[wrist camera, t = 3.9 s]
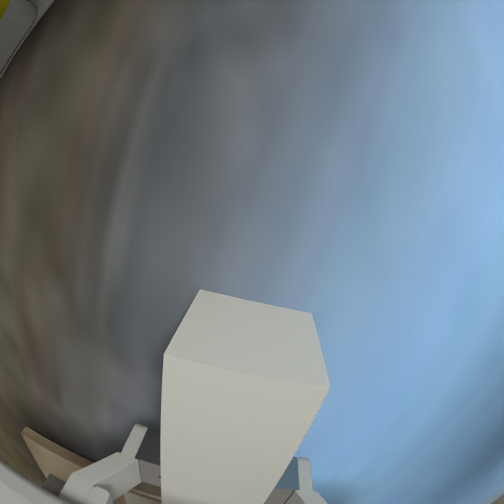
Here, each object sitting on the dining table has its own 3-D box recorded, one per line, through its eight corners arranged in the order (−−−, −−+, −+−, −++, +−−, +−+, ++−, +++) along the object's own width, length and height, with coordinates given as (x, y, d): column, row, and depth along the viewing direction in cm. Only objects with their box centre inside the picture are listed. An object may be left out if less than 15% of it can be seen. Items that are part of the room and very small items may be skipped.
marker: (311, 313, 9) (329, 386, 6) (241, 490, 13) (235, 541, 9) (199, 289, 9) (164, 354, 6) (177, 477, 13) (163, 527, 9)
